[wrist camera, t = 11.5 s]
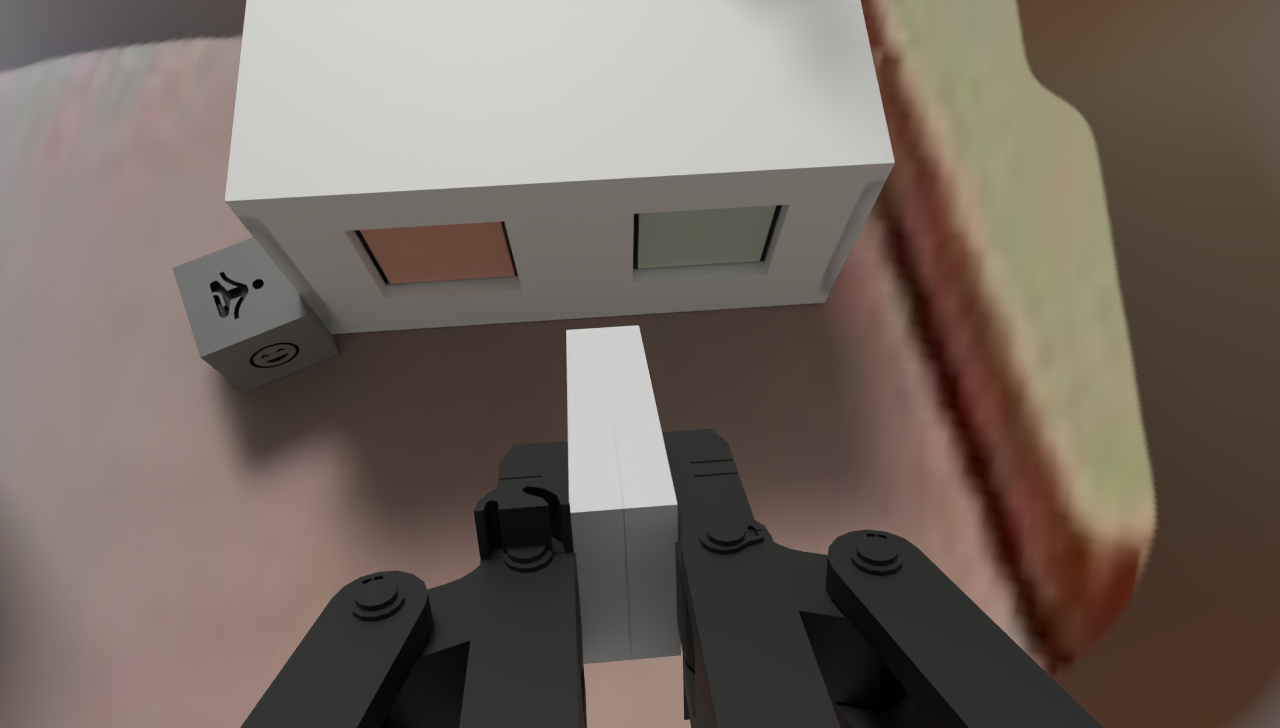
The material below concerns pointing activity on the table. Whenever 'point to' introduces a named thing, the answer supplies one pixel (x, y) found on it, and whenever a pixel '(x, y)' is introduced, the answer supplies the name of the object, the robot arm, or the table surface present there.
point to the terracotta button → (442, 252)
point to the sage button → (701, 236)
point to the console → (553, 148)
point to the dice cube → (250, 317)
